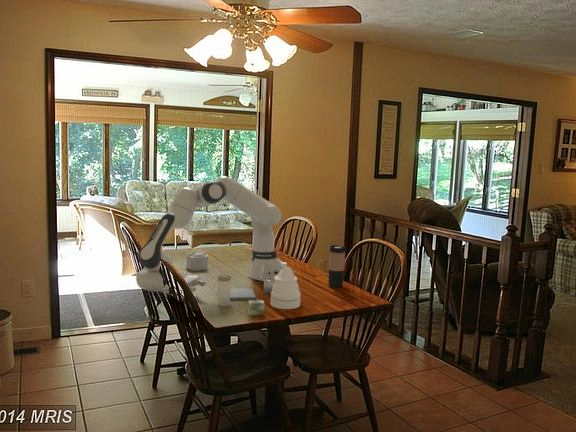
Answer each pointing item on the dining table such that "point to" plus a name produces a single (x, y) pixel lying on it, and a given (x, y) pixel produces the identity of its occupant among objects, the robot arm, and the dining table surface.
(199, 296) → the dining table surface
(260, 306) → the sage block
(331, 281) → the travel mug
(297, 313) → the dining table surface
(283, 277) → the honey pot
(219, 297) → the white lidded jar
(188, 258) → the lumpy-topped squat cylinder
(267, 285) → the metal tin
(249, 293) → the serving board
